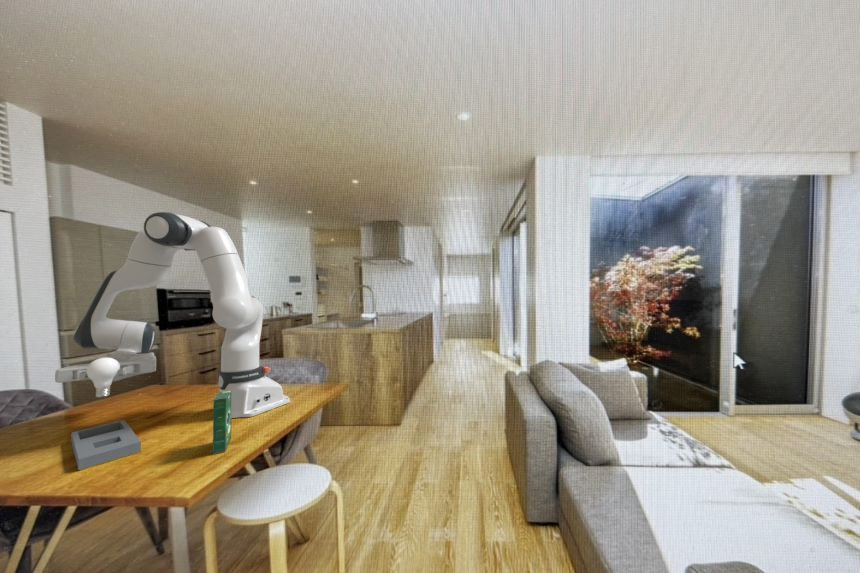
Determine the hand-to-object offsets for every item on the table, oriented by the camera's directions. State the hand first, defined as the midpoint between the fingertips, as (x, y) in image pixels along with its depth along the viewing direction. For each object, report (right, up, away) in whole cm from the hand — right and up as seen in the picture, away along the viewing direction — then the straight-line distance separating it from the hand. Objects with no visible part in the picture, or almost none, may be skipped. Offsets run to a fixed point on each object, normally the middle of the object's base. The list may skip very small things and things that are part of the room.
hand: (101, 374), depth 81 cm
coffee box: (+37, -17, -6) cm, 41 cm away
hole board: (+6, -18, -4) cm, 19 cm away
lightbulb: (0, -7, 0) cm, 7 cm away
